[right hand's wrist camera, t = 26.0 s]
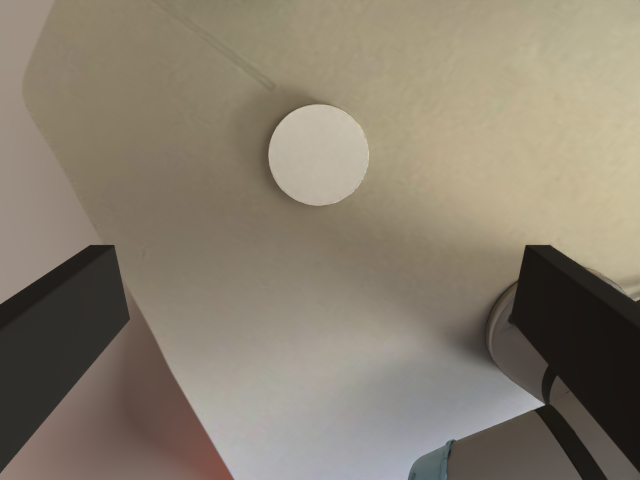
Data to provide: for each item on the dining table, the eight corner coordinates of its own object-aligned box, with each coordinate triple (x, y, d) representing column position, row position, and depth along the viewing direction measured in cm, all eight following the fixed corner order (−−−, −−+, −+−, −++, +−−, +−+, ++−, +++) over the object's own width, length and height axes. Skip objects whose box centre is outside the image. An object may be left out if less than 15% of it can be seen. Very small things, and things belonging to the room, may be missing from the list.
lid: (258, 182, 38) (255, 186, 36) (288, 88, 34) (286, 88, 33) (345, 213, 39) (346, 218, 37) (381, 125, 36) (384, 126, 34)
